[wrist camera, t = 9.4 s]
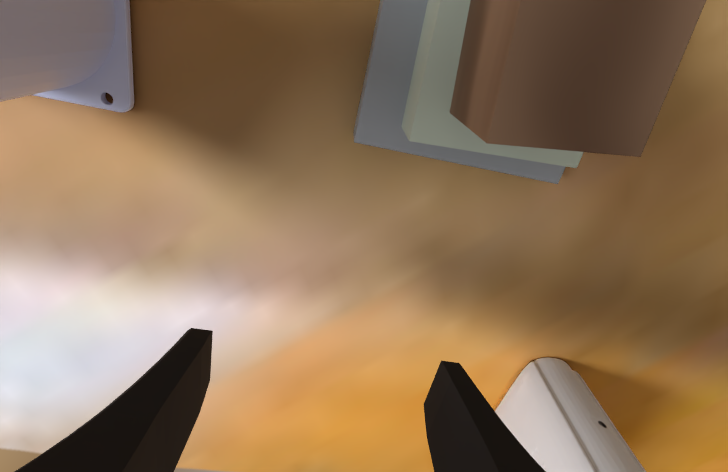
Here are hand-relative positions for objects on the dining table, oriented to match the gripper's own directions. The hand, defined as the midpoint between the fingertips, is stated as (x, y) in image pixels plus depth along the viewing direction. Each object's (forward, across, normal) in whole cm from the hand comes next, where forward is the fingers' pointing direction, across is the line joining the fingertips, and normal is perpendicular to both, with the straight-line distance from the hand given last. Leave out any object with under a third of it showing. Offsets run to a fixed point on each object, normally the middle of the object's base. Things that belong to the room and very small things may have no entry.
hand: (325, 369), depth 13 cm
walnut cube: (+6, -5, -10) cm, 13 cm away
